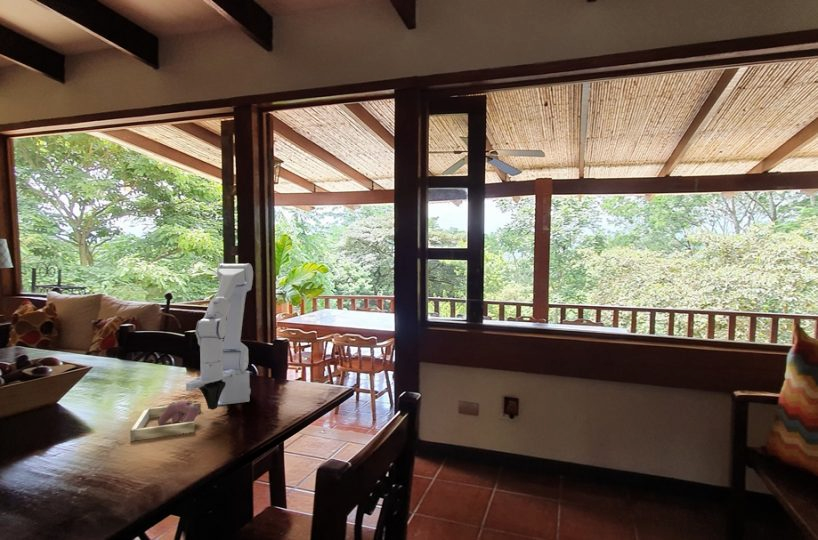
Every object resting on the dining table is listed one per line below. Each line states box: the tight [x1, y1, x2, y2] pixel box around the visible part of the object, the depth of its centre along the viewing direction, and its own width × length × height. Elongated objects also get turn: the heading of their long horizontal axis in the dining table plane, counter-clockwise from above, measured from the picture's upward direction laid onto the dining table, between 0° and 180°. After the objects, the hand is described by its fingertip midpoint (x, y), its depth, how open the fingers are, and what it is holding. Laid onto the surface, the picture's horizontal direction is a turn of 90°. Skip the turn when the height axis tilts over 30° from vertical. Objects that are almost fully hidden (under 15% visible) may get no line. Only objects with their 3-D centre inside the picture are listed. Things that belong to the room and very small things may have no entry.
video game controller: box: [157, 400, 200, 426], centre depth 111 cm, size 10×5×7 cm, turn 71°
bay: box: [129, 401, 202, 442], centre depth 110 cm, size 14×16×2 cm
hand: (212, 408), depth 114 cm, fingers closed
